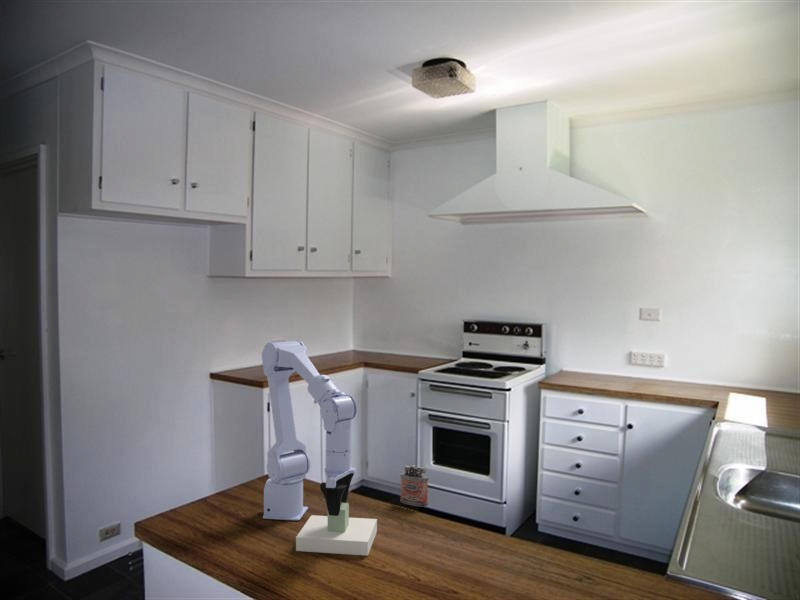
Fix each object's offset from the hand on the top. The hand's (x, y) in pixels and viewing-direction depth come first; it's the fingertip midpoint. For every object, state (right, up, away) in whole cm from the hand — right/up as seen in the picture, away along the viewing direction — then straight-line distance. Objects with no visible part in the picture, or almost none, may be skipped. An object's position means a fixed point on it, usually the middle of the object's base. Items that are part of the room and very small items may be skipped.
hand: (338, 508), depth 126 cm
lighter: (+18, -7, +23) cm, 30 cm away
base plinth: (0, -8, 0) cm, 8 cm away
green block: (0, -5, 0) cm, 5 cm away
